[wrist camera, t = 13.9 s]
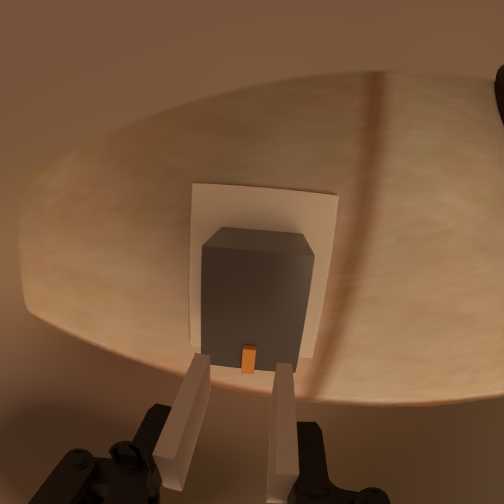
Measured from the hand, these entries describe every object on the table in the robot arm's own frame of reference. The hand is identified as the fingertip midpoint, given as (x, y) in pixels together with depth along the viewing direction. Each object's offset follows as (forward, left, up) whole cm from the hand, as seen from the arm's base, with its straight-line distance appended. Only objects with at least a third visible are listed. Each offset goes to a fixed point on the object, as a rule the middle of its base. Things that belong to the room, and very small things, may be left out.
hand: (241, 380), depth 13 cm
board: (0, 0, -17) cm, 17 cm away
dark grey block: (0, 0, -15) cm, 15 cm away
